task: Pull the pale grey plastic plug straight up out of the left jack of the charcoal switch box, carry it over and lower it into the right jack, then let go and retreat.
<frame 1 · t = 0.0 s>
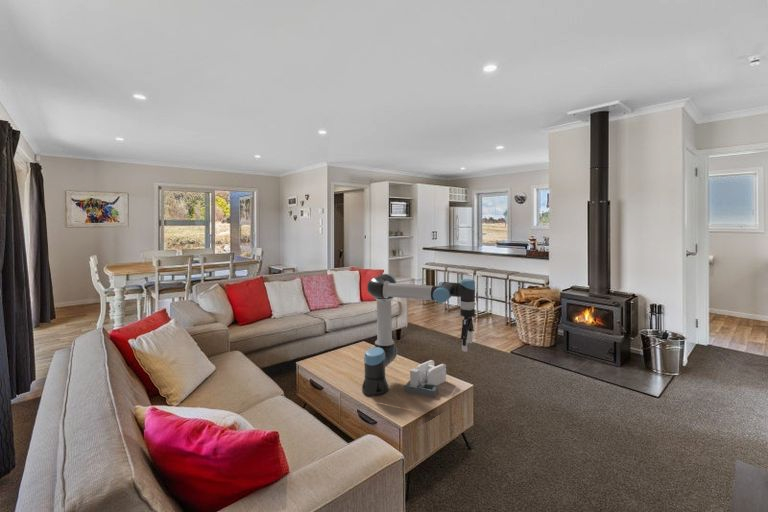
hand: (467, 346, 199), 28 cm above the table, fingers open, 13 cm apart
plug: (414, 390, 209), resting on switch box
cable organizer: (431, 383, 218), on the table
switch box: (421, 392, 207), on the table
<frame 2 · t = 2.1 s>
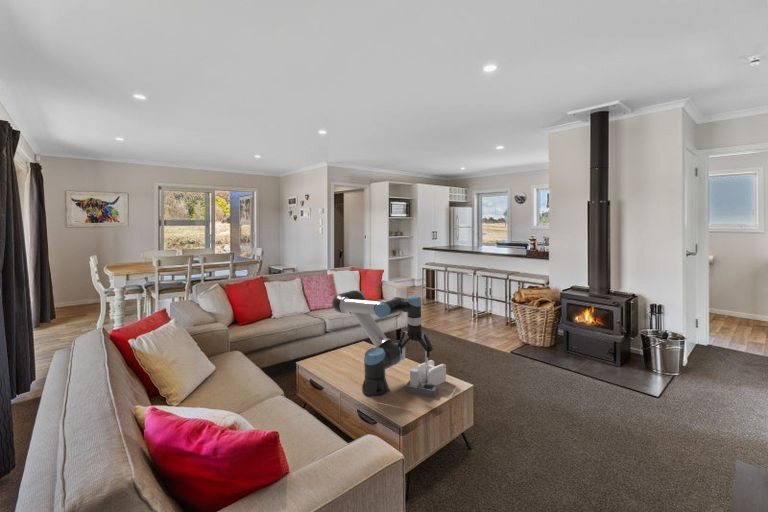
hand: (415, 360, 207), 18 cm above the table, fingers open, 13 cm apart
nothing on the table moved.
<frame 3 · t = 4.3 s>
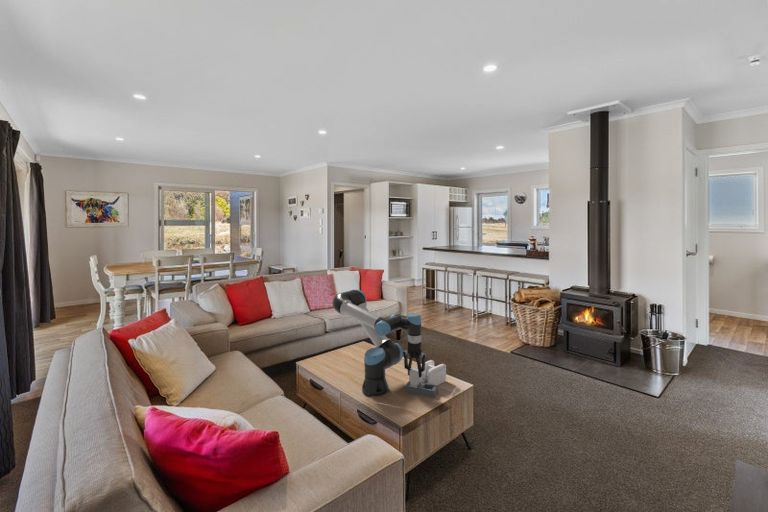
hand: (414, 381, 208), 6 cm above the table, fingers closed on plug, 4 cm apart
plug: (414, 390, 209), resting on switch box, touching gripper
everything else where it was.
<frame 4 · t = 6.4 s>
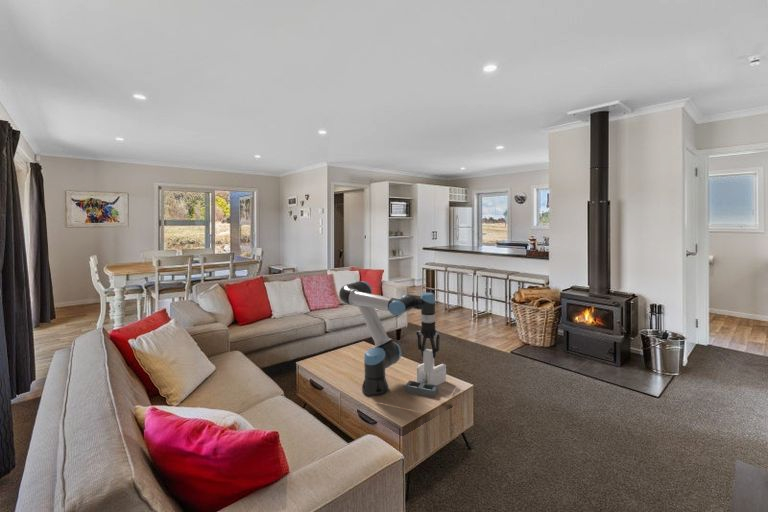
hand: (428, 362, 203), 18 cm above the table, fingers closed on plug, 4 cm apart
plug: (428, 371, 204), point 13 cm above the table, touching gripper
everything else where it was.
when the fingers open (7 cm above the table, at t = 8.7 s): plug stays where it is, resting on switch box.
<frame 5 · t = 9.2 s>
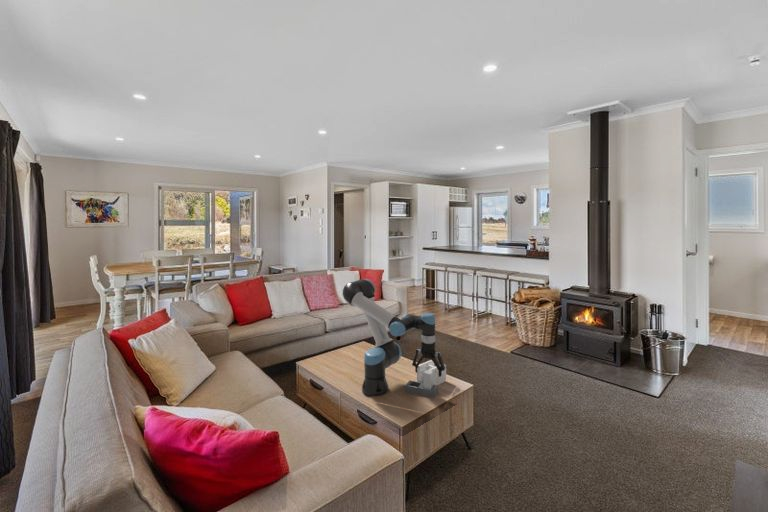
hand: (428, 380, 204), 8 cm above the table, fingers open, 11 cm apart
plug: (428, 392, 205), resting on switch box
everything else where it was.
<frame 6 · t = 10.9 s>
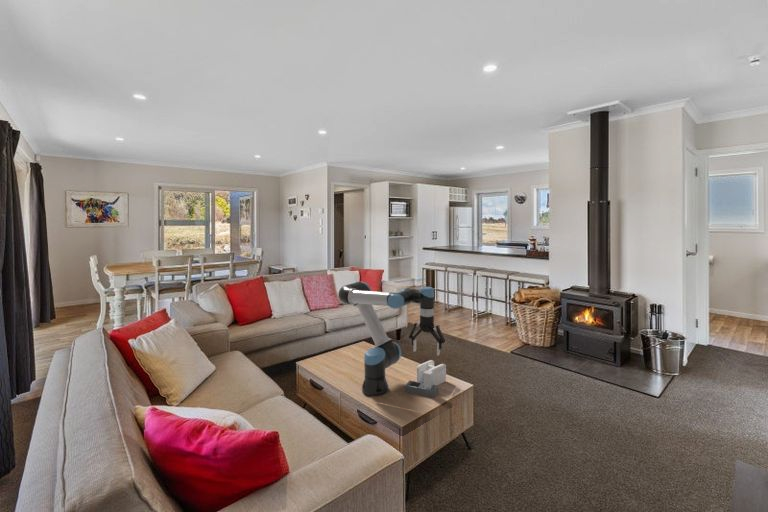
hand: (426, 352, 203), 23 cm above the table, fingers open, 13 cm apart
nothing on the table moved.
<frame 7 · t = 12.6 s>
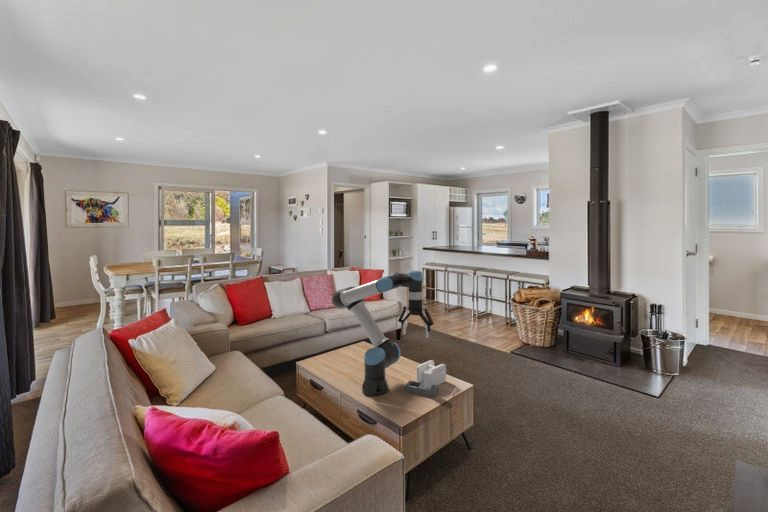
hand: (415, 335, 207), 32 cm above the table, fingers open, 13 cm apart
nothing on the table moved.
at the end: plug 0.0 cm from the target spot on the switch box, point 0.5 cm above the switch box's base; plug tilted 0°; the gripper is holding nothing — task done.
